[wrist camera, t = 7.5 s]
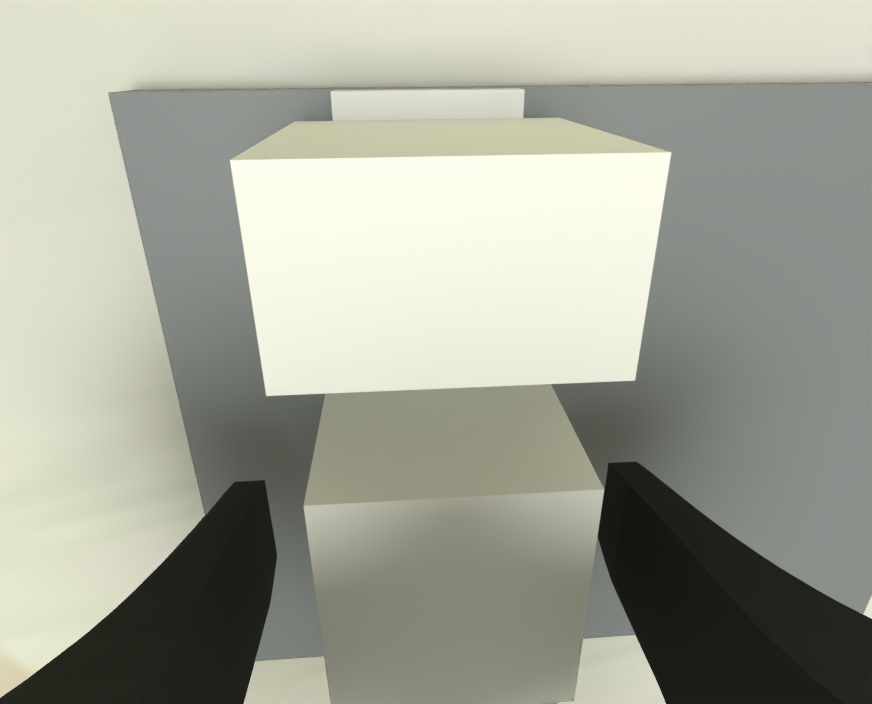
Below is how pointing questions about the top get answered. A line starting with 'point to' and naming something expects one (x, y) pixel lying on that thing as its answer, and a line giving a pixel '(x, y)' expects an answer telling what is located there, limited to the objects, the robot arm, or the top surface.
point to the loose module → (451, 545)
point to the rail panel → (702, 335)
